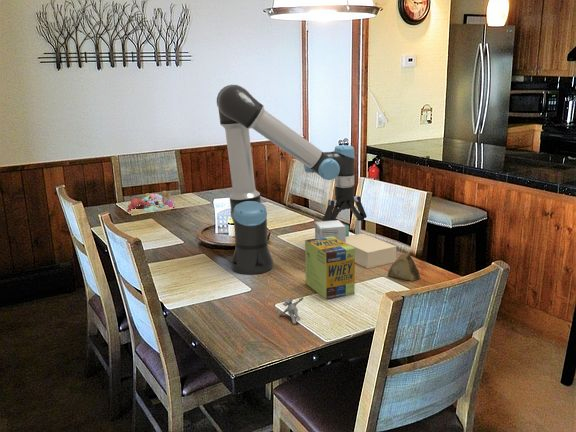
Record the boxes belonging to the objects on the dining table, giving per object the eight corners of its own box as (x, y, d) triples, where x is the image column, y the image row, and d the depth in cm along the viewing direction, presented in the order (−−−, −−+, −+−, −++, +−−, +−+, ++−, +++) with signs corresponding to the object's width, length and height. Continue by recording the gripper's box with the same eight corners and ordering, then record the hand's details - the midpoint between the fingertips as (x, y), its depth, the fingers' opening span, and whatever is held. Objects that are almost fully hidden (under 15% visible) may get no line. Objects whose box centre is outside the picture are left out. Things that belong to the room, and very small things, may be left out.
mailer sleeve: (395, 261, 206) (396, 246, 204) (367, 268, 200) (367, 252, 198) (363, 247, 223) (363, 233, 221) (336, 253, 217) (336, 238, 215)
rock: (379, 270, 192) (397, 275, 183) (389, 249, 193) (408, 253, 185) (399, 283, 196) (418, 288, 188) (408, 262, 198) (427, 266, 190)
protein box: (326, 300, 174) (326, 252, 170) (305, 283, 188) (304, 239, 184) (355, 294, 178) (355, 247, 174) (332, 278, 192) (332, 235, 188)
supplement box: (346, 272, 197) (346, 226, 192) (320, 274, 195) (320, 228, 191) (339, 263, 206) (339, 219, 201) (315, 265, 204) (314, 221, 200)
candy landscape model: (132, 206, 303) (130, 189, 300) (176, 203, 305) (175, 187, 303) (124, 218, 279) (122, 199, 276) (172, 215, 281) (171, 197, 279)
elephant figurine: (278, 326, 157) (271, 306, 164) (290, 335, 160) (283, 314, 167) (303, 308, 155) (295, 288, 162) (314, 316, 159) (306, 296, 165)
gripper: (323, 191, 207) (323, 246, 213) (375, 183, 219) (375, 235, 224) (312, 188, 213) (313, 241, 219) (364, 180, 225) (363, 231, 231)
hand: (344, 238), depth 222 cm, fingers open, 12 cm apart
